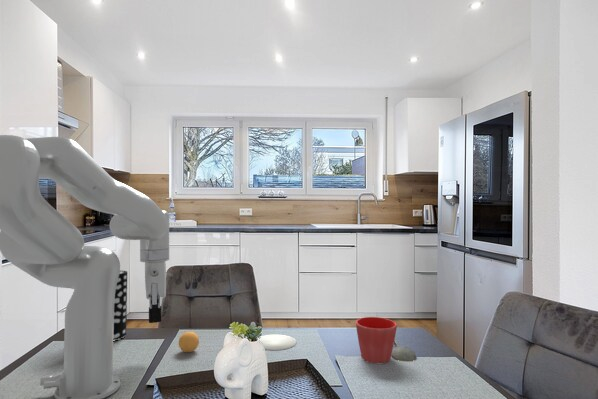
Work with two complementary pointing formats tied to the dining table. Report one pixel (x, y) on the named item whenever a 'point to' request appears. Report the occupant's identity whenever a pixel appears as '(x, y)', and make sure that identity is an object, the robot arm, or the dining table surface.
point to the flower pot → (376, 338)
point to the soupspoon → (403, 353)
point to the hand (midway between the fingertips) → (155, 321)
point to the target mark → (277, 342)
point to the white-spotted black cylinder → (120, 306)
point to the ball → (188, 341)
